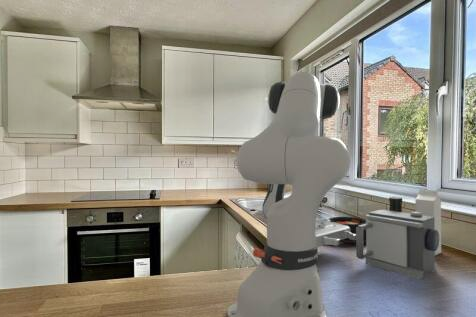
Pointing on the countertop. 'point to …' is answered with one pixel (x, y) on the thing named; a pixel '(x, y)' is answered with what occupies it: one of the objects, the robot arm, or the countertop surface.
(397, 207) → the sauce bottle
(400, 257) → the side door
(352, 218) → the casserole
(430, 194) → the milk
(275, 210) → the robot arm
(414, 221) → the camera case
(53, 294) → the countertop surface
